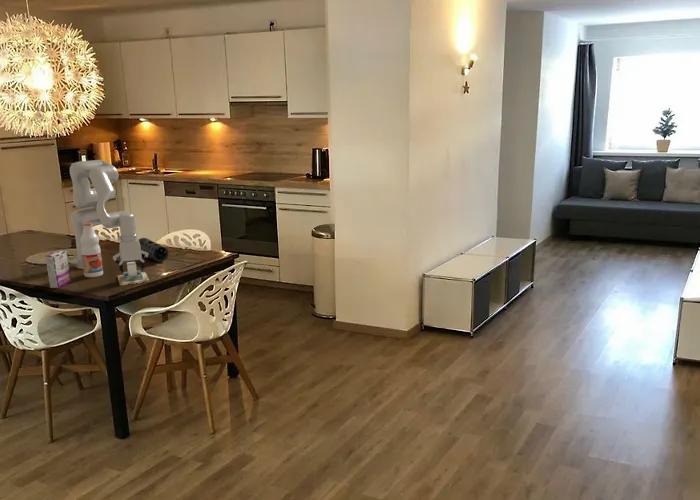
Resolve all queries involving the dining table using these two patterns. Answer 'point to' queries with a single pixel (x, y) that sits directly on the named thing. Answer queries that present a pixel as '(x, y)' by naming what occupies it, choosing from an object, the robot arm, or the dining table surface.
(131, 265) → the block
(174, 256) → the dining table surface
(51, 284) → the candy bar box
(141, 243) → the muzzle brake
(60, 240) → the dining table surface
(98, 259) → the fruit juice
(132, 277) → the holder
